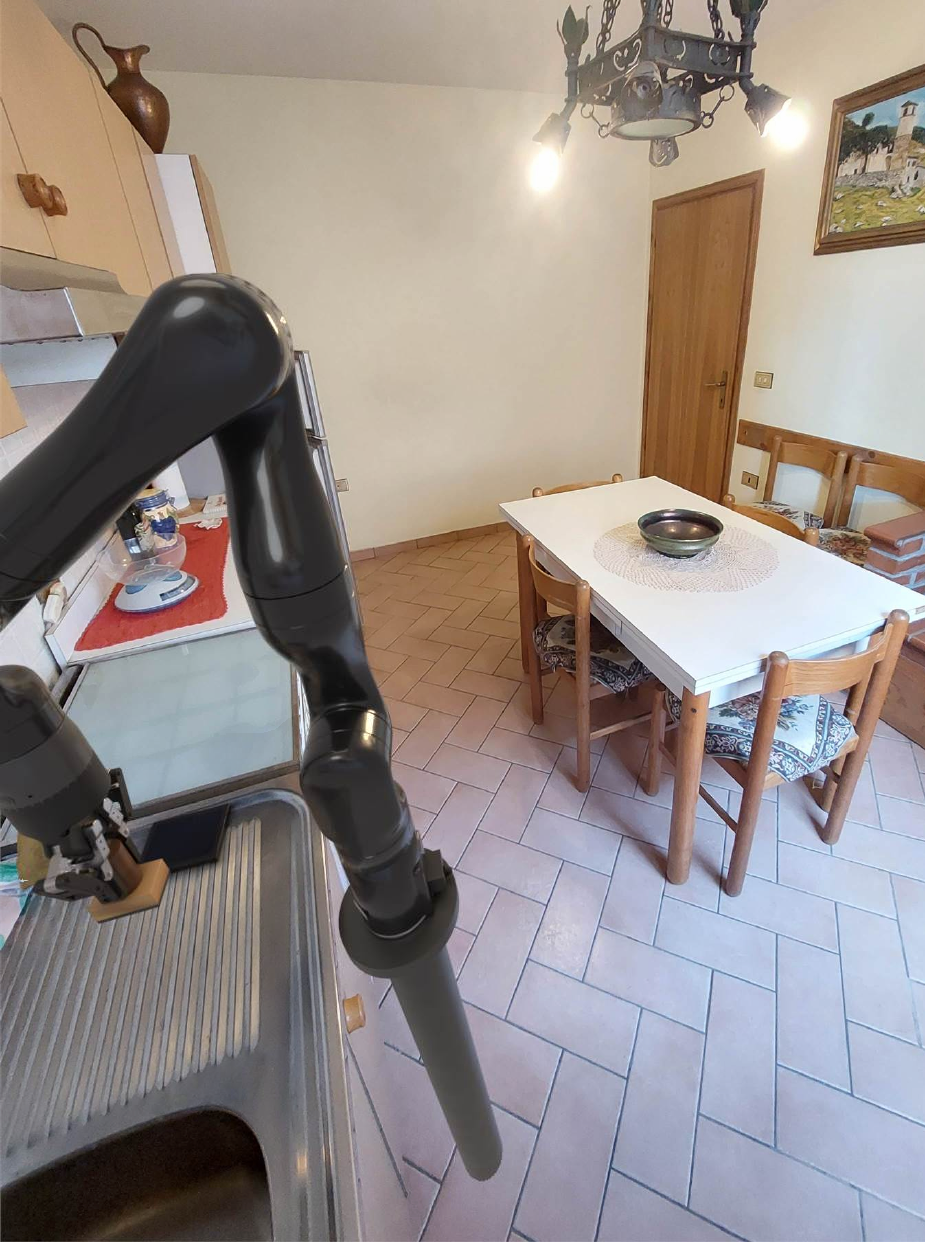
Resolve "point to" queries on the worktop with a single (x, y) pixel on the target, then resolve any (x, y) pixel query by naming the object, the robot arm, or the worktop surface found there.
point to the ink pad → (187, 839)
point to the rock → (30, 861)
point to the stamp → (131, 885)
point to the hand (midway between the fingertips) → (124, 879)
